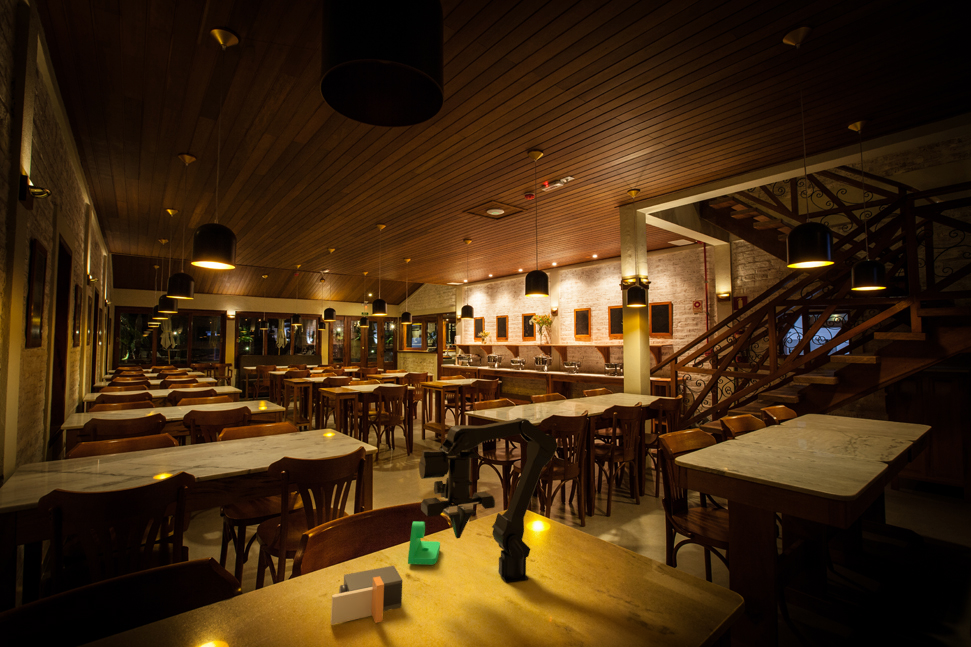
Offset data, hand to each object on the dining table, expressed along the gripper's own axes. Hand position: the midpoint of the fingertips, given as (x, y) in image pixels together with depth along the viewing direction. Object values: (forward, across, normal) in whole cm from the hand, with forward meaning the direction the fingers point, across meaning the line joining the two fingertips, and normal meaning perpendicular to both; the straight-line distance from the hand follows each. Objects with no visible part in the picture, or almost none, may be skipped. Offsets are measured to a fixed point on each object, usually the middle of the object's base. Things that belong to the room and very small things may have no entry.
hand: (457, 537), depth 111 cm
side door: (+11, +26, +6) cm, 29 cm away
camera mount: (+12, +2, -19) cm, 23 cm away
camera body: (+12, +21, -1) cm, 24 cm away
